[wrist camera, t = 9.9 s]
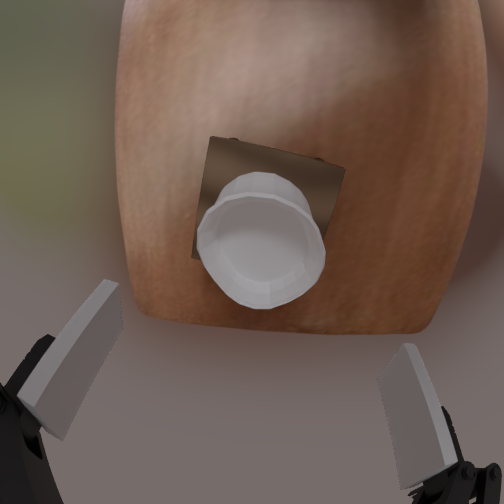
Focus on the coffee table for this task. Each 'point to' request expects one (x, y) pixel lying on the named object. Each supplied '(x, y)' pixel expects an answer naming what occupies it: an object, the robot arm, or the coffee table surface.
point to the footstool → (268, 161)
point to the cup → (261, 241)
